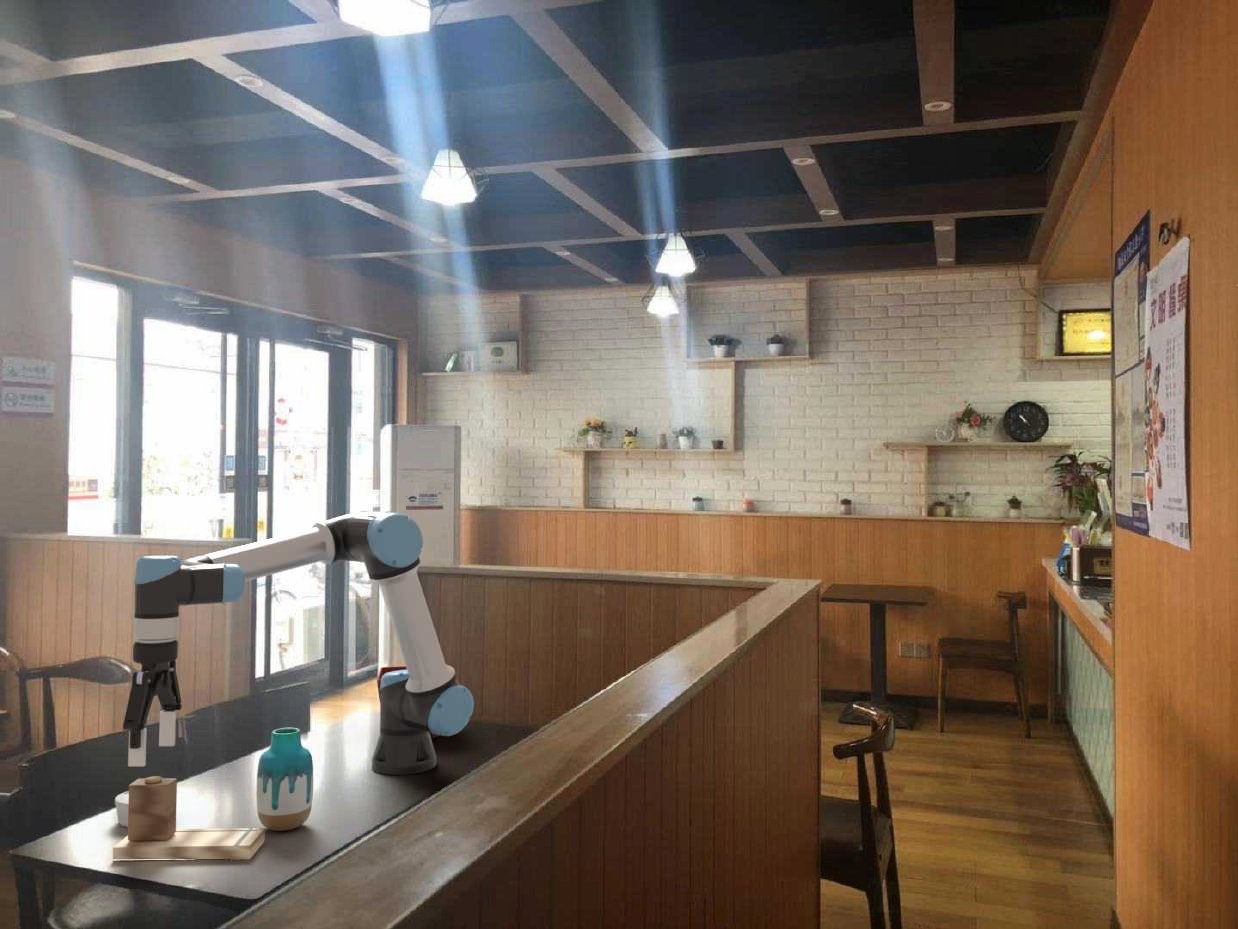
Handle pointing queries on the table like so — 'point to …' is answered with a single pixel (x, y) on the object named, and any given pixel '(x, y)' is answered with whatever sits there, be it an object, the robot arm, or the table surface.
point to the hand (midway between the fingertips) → (152, 755)
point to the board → (195, 845)
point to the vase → (284, 782)
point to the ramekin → (122, 808)
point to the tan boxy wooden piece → (152, 808)
